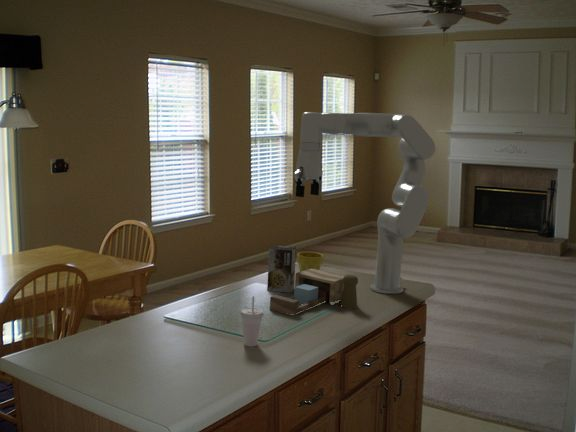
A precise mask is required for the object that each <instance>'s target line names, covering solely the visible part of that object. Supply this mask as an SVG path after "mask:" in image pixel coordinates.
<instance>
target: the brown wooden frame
mask: <svg viewBox="0 0 576 432" xmlns="http://www.w3.org/2000/svg"><path fill="white" fill-rule="evenodd" d="M327 298H328V296H327V292H326V291H322V290H318V299H316V300H313V301H311V302H308V303H306V304H303V305H299V301H298V300H294V295H292V296H289V297H286V296H281V295H278V294H273V295H272V296H270V297H269V310H270V311H272V312H276V311H277V312H276V313H280V312H282V313H281V314H284V313H288V314H296V313H298V312H300V311H303V310H306V309H308V308H310V307H313V306H315V305H317V304H319V303H322V302H324V301H326V302H327ZM288 314H287V315H288Z"/></svg>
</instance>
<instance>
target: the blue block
mask: <svg viewBox="0 0 576 432" xmlns="http://www.w3.org/2000/svg"><path fill="white" fill-rule="evenodd" d="M293 291H294V293H293V296H294V300H298V301H299V304H306V303H308V302H311V301H313V300H316V299H318V287H315V286H311V285H306V284H302V285H299V286H296V287H295V286H294V290H293Z"/></svg>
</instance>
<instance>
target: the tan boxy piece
mask: <svg viewBox="0 0 576 432" xmlns="http://www.w3.org/2000/svg"><path fill="white" fill-rule="evenodd" d="M344 276H346V275H345V274H339V273H334V272H329V271H325V270H316V269H308V270H305V271H301V272H300V271H299V272H295V279H294V288H295V287H296V286H299V285H302V284H306V285H311V286H315V287H318V290H322V291H326V292H327V297H329V299H328V300H329V301H328V303H329V302H335V301H338V300H341V297H342V293H343V288H344V283H343V278H344Z"/></svg>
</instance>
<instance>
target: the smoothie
mask: <svg viewBox="0 0 576 432" xmlns="http://www.w3.org/2000/svg"><path fill="white" fill-rule="evenodd" d="M251 298H252V299H251V301H252V302H251V307H245V308H242V309H241V310H240V315H241V322H242V323H241V324H242V336H243V345H244V346H245V347H256V346H257V345H258V342H259V335H260V332H261V325H262V320H263V319H262V318H263V316H264V311H263V310H262V309H261V308H257V307H255V296H252V297H251Z"/></svg>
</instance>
